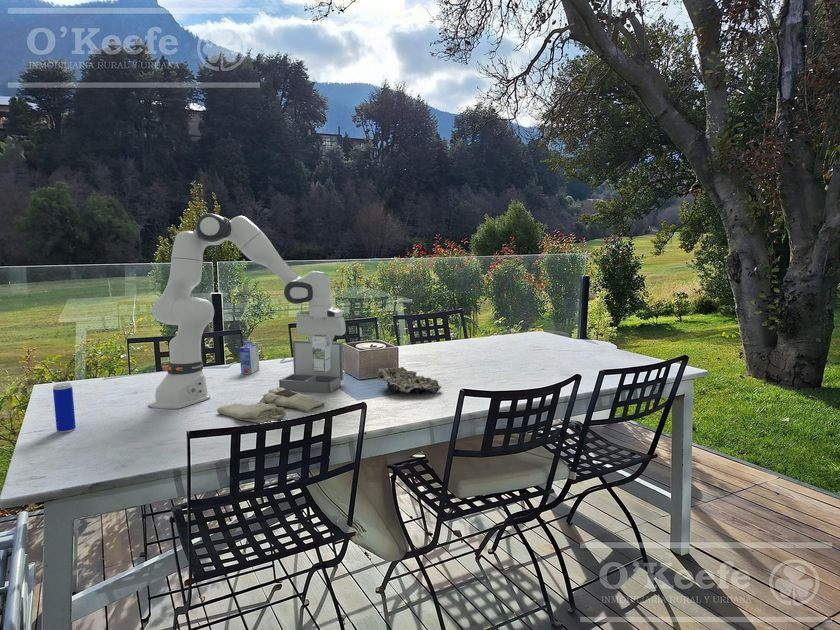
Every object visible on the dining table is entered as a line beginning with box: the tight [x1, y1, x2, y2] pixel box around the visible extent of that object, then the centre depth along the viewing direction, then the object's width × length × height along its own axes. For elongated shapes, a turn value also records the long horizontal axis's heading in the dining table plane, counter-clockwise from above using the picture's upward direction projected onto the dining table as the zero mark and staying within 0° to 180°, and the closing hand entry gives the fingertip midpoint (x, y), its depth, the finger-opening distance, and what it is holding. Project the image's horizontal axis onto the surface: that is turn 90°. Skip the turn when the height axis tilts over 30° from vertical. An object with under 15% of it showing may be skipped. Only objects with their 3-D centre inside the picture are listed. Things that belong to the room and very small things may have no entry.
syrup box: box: [312, 335, 331, 372], centre depth 230 cm, size 6×6×14 cm
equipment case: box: [278, 339, 344, 394], centre depth 233 cm, size 14×22×18 cm, turn 76°
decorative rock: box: [376, 365, 442, 394], centre depth 229 cm, size 22×26×10 cm
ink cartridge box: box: [239, 339, 260, 375], centre depth 261 cm, size 10×6×14 cm, turn 174°
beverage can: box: [52, 382, 77, 434], centre depth 180 cm, size 5×5×15 cm
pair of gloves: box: [216, 386, 325, 424], centre depth 202 cm, size 30×26×5 cm
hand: (321, 345), depth 229 cm, fingers closed on syrup box, 6 cm apart
